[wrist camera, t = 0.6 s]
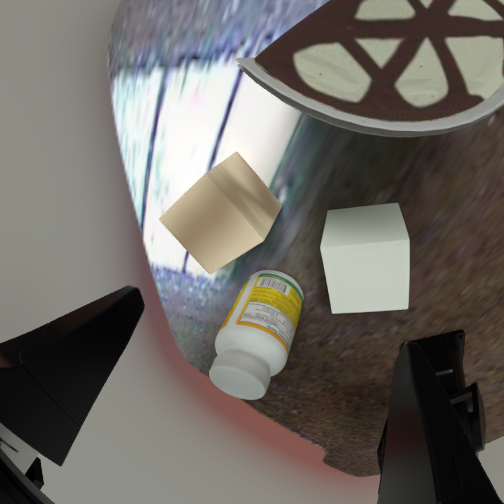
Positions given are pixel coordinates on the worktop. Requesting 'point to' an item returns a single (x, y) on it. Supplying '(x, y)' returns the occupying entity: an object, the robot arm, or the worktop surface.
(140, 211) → the worktop surface
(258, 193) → the maple block
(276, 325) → the supplement bottle
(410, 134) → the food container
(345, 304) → the white cube
